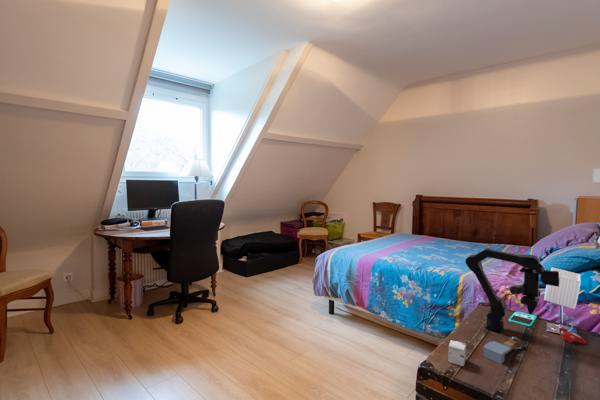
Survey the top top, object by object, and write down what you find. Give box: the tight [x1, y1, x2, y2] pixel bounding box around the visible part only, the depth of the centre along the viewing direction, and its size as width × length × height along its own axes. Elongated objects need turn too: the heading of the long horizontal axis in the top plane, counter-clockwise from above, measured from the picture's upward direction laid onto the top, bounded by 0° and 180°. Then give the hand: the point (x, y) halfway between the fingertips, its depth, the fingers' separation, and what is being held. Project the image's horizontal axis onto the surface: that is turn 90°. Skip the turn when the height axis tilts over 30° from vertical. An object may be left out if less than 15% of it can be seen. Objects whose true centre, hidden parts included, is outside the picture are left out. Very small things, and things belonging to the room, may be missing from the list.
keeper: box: [483, 340, 512, 365], centre depth 136 cm, size 8×9×4 cm
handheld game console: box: [508, 311, 538, 327], centre depth 171 cm, size 10×16×1 cm, turn 133°
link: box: [502, 336, 521, 356], centre depth 141 cm, size 18×4×2 cm, turn 124°
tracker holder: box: [558, 326, 588, 345], centre depth 149 cm, size 12×4×10 cm
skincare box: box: [447, 339, 467, 367], centre depth 133 cm, size 6×6×7 cm
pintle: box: [511, 336, 523, 350], centre depth 144 cm, size 7×7×4 cm
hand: (530, 313), depth 150 cm, fingers closed
